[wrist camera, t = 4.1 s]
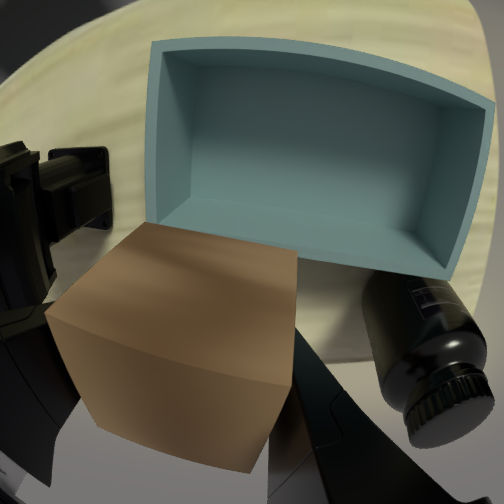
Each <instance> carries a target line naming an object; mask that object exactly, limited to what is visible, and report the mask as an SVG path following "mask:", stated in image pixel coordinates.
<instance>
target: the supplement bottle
mask: <svg viewBox="0 0 504 504" xmlns="http://www.w3.org/2000/svg"><path fill="white" fill-rule="evenodd" d="M362 311H363V315H364V320H365V324H366V328H367V332H368V336H369V340H370V344H371V348H372V353H373V357H374V362H375V366H376V371H377V375H378V380H379V385H380V389H381V393H382V396H383V398H384V400H385V401H386V402H387V404H388V405H389V406H391V407H392V408H393V409H395V410H396V411H399V412H401V413H403V419H404V423H405V426H407V431H408V437H409V441H410V443H411V444H412V446H414V447H415V448H419V449H428V448H434V447H439V446H442V445H445V444H448V443H450V442H453V441H455V440H457V439H459V438H461V437H463V436H464V435H466V434H468V433H469V432H470V431H472V430H474V429H475V428H476V427H477V426H479V425H480V424H481V423H482V422H483V421H484V420H485V419H486V418H487V416H488V415H489V414H490V412H491V411H492V410H493V406H494V405H495V404H494V401H495V400H494V396H493V394H492V392H491V389H490V387H489V385H488V380H487V377H486V375H485V374H484V372H483V369H484V366H485V363H486V358H487V345H486V341H485V338H484V336H483V334H482V332H481V331H480V329H479V327H478V326H477V324H476V323H475V321H474V319H473V318H472V316H471V315H470V313H469V312H468V310H467V309H466V307H465V306H464V304H463V303H462V301H461V300H460V298H459V297H458V296H457V294H456V293H455V291H454V290H453V289H452V287H451V286H450V284H449V283H448V282H447V280H440V279H434V278H428V277H421V276H415V275H408V274H402V273H396V272H389V271H383V270H377V271H376V272H375V273H374V275H373V276H372V277H371V278H370V280H369V281H368V283H367V285H366V287H365V289H364V292H363V296H362Z"/></svg>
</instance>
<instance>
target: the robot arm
mask: <svg viewBox="0 0 504 504" xmlns="http://www.w3.org/2000/svg"><path fill="white" fill-rule="evenodd" d="M101 151H102V153H103V155H101ZM53 155H54V156H53ZM39 160H40V151H30V150H28V148H26V146H25V145H24V143H23V141H16V142H13V143H9V144H6V145H3V146H0V504H26V503H24V502H23V501H22V500H20V499H19V498H18V497H16V496H15V495H16V493H17V491H18V489H19V486H20V485H21V483H22V481H23V479H24V477H25V475H26V473H27V472H28V473H29V474H31V475H32V476H33V477H35V478H36V479H37V480H39V481H40V482H42V483H43V484H45V485H46V486H48V487H50V485H51V479H52V465H53V455H54V446H55V441H56V437H57V435H58V433H59V431H60V429H61V428H62V426H63V425H64V423H65V422H66V420H67V418H68V417H69V415H70V414H71V412H72V411H73V409H74V407H75V406H76V405H77V403H78V401H79V400H80V398H81V396H80V394H79V392H78V390H77V389H76V387H75V385H74V383H73V381H72V378H71V376H70V374H69V372H68V370H67V368H66V366H65V363H64V361H63V359H62V357H61V354H60V352H59V350H58V347H57V345H56V342H55V340H54V337H53V335H52V332H51V329H50V327H49V324H48V321H47V319H46V316H45V313H44V312H45V311H46V310H47V309H48V308H49V307H50V306H51V305H52V304H53V303H54V302H55V301H53V302H48V303H44V304H42V303H43V301H44V299H45V298H46V296H47V295H48V291H49V289H50V288H51V286H52V284H53V282H54V281H55V279H56V277H57V273H56V269H55V268H54V266H53V261H52V257H51V252H50V247H51V246H52V245H54V244H55V243H58V242H60V241H61V240H62V239H64V238H65V237H67V236H68V235H70V234H71V233H73V232H74V231H76V230H77V229H80V228H81V227H90V228H96V229H103V230H108V229H109V228H111V227H112V224H113V222H112V212H111V195H110V177H109V160H108V150H107V148H106V147H104V146H96V147H72V148H57V149H52V150H50V151H49V153H48V161H46V162H43V163H40V164H39ZM105 221H106V222H107V224H106V223H105ZM267 498H268V500H267V504H492V502H491V500H490V499H489V497H482V498H480V499H477V500H474V501H471V502H467V503H464V502H460V501H457V500H456V499H454V498H453V497H452V496H451V495H450V494H449V493H448V492H446V491H445V490H444V489H443V488H442V487H441V486H440V485H439V484H438V483H437V482H435V481H434V480H433V479H432V478H431V477H430V476H429V475H428V474H427V473H425V472H424V470H422V469H421V468H420V467H419V466H418V465H417V464H416V463H415V462H414V461H413V460H412V459H411V458H410V457H409V456H408V455H407V454H405V453H404V452H403V451H402V450H401V449H400V448H399V447H398V446H397V445H396V444H395V443H394V442H393V441H392V440H391V439H390V438H389V437H388V436H387V435H386V434H385V433H384V432H383V431H382V430H381V429H380V428H379V427H378V426H377V425H375V423H373V421H371V419H370V418H369V417H368V416H367V415H366V414H365V413H364V412H363V411H362V410H361V409H360V408H359V406H358V405H357V404H356V403H355V402H354V400H353V399H352V398H351V397H350V396H349V394H348V393H347V392H346V391H345V390H344V389H343V387H342V386H341V385H340V384H339V383H338V381H337V380H336V378H335V377H334V376H333V375H332V374H331V372H330V371H329V370H328V369H327V367H326V366H325V364H324V363H323V362H322V361H321V359H320V358H319V357H318V356H317V354H316V353H315V352H314V350H313V349H312V348H311V347H310V345H309V344H308V343H307V341H306V340H305V339H304V338H303V336H302V335H301V334H300V332H299V331H298V330H297V329H296V327H295V337H294V354H293V370H292V384H291V388H290V391H289V393H288V395H287V398H286V400H285V402H284V405H283V407H282V409H281V411H280V413H279V416H278V418H277V420H276V422H275V424H274V426H273V429H272V431H271V433H270V435H269V460H268V497H267Z"/></svg>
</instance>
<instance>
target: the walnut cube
mask: <svg viewBox="0 0 504 504" xmlns="http://www.w3.org/2000/svg"><path fill="white" fill-rule="evenodd" d="M297 258H298V251H295V250H290V249H285V248H280V247H275V246H270V245H264V244H259V243H254V242H249V241H244V240H239V239H234V238H228V237H223V236H218V235H213V234H208V233H202V232H197V231H192V230H186V229H181V228H176V227H171V226H165V225H160V224H154V223H149V222H144V223H143V224H142V225H140V226H139V227H138V228H137V229H136V230H134V231H133V232H132V233H131V234H129V235H128V236H127V237H126V238H125V239H123V240H122V241H121V242H120V243H119V244H118V245H116V246H115V247H114V248H113V249H112V250H111V251H109V252H108V253H107V254H106V255H105V256H104V257H103V258H101V259H100V260H99V261H98V262H97V263H96V264H95V265H94V266H92V267H91V268H90V269H89V270H88V271H87V272H86V273H85V274H84V275H83V276H82V277H80V278H79V279H78V280H77V281H76V282H75V283H74V284H73V285H72V286H71V287H70V288H69V289H68V290H67V291H66V292H65V293H64V294H63V295H62V296H60V297H59V298H58V299H57V300H56V301H55V302H54V303H53V304H52V305H51V306H50V307H49V308H48V309H47V310H46V311H45V312H44V313H45V316H46V319H47V321H48V324H49V327H50V329H51V332H52V335H53V337H54V340H55V342H56V345H57V347H58V350H59V352H60V354H61V357H62V359H63V361H64V363H65V366H66V368H67V370H68V372H69V374H70V376H71V378H72V381H73V383H74V385H75V387H76V389H77V390H78V392H79V394H80V396H81V398H82V400H83V402H84V404H85V405H86V407H87V409H88V411H89V413H90V414H91V416H92V418H93V419H94V421H95V423H96V425H97V426H98V427H100V428H102V429H104V430H106V431H109V432H111V433H113V434H115V435H118V436H120V437H123V438H125V439H127V440H130V441H132V442H135V443H138V444H140V445H143V446H146V447H149V448H151V449H154V450H157V451H160V452H163V453H166V454H169V455H172V456H176V457H179V458H182V459H186V460H190V461H193V462H197V463H201V464H205V465H209V466H213V467H217V468H222V469H227V470H231V471H237V472H242V473H248V474H250V473H251V471H252V469H253V467H254V465H255V463H256V461H257V459H258V457H259V455H260V453H261V451H262V449H263V447H264V445H265V443H266V441H267V439H268V437H269V435H270V433H271V431H272V429H273V426H274V424H275V422H276V420H277V418H278V416H279V413H280V411H281V409H282V407H283V405H284V402H285V400H286V398H287V395H288V393H289V391H290V388H291V384H292V370H293V354H294V337H295V317H296V292H297Z"/></svg>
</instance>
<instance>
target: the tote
mask: <svg viewBox="0 0 504 504" xmlns="http://www.w3.org/2000/svg"><path fill="white" fill-rule="evenodd" d="M494 113H495V102H493V101H491V100H489V99H487V98H486V97H484V96H482V95H480V94H478V93H476V92H474V91H472V90H469V89H467V88H465V87H463V86H461V85H459V84H456V83H454V82H452V81H449V80H447V79H445V78H442V77H440V76H437V75H435V74H432V73H429V72H427V71H424V70H421V69H418V68H415V67H413V66H410V65H407V64H403V63H400V62H397V61H394V60H390V59H387V58H383V57H380V56H376V55H372V54H368V53H364V52H360V51H355V50H351V49H346V48H341V47H336V46H330V45H324V44H318V43H312V42H304V41H296V40H287V39H276V38H262V37H194V38H180V39H169V40H160V41H152V45H151V54H150V64H149V74H148V86H147V101H146V122H145V201H146V222H149V223H154V224H160V225H165V226H171V227H176V228H181V229H186V230H192V231H197V232H202V233H208V234H213V235H218V236H223V237H228V238H234V239H239V240H244V241H249V242H254V243H259V244H264V245H270V246H275V247H280V248H285V249H290V250H295V251H298V257H299V258H305V259H312V260H318V261H325V262H331V263H338V264H344V265H350V266H357V267H363V268H370V269H376V270H383V271H389V272H396V273H402V274H408V275H415V276H421V277H428V278H434V279H440V280H447V281H450V279H451V277H452V275H453V272H454V270H455V267H456V265H457V262H458V260H459V257H460V254H461V252H462V249H463V246H464V243H465V241H466V238H467V235H468V232H469V229H470V226H471V223H472V219H473V216H474V213H475V209H476V206H477V202H478V199H479V195H480V191H481V187H482V183H483V179H484V174H485V170H486V165H487V160H488V155H489V149H490V143H491V137H492V130H493V122H494Z"/></svg>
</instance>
